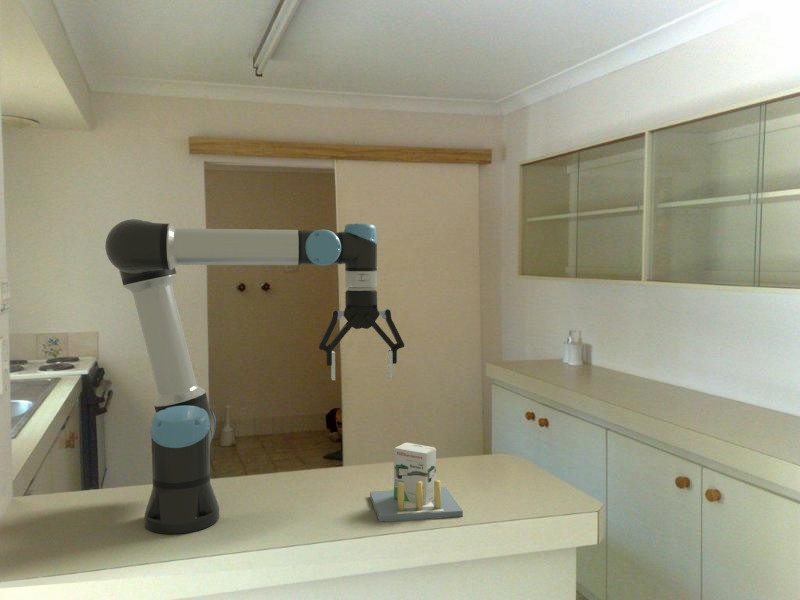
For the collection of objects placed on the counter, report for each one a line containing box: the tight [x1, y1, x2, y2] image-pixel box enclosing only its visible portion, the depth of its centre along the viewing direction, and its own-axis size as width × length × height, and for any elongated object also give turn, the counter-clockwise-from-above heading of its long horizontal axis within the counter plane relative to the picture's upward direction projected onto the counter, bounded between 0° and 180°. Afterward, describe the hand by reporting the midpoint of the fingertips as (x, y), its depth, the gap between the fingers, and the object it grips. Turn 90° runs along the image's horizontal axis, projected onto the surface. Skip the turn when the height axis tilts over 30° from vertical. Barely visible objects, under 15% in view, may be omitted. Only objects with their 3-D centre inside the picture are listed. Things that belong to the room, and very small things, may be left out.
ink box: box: [393, 442, 437, 505], centre depth 161 cm, size 9×5×12 cm, turn 59°
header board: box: [369, 479, 464, 523], centre depth 160 cm, size 18×16×7 cm
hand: (361, 378), depth 171 cm, fingers open, 13 cm apart
